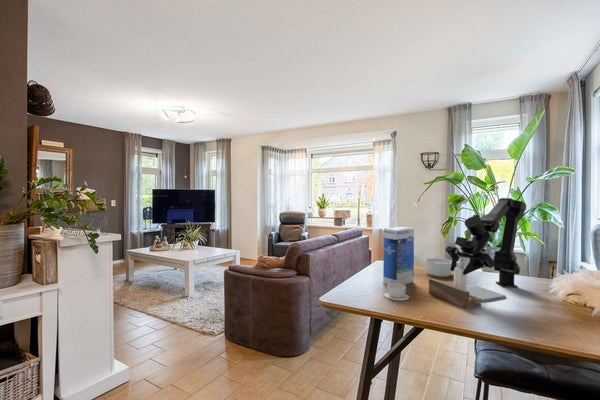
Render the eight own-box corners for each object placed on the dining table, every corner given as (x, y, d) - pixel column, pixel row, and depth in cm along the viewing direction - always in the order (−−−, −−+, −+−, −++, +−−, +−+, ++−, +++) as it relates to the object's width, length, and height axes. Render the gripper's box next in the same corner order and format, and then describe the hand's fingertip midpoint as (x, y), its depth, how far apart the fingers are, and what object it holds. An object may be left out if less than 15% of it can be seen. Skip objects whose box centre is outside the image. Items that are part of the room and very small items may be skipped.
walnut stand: (442, 290, 127) (442, 276, 127) (480, 305, 110) (481, 289, 110) (428, 292, 125) (428, 278, 125) (466, 308, 108) (466, 292, 108)
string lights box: (401, 278, 145) (401, 226, 144) (414, 282, 139) (415, 228, 138) (382, 283, 138) (382, 228, 137) (395, 287, 131) (396, 230, 131)
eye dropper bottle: (453, 289, 117) (453, 259, 117) (453, 285, 122) (454, 256, 122) (465, 291, 115) (466, 260, 115) (465, 287, 120) (466, 257, 120)
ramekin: (436, 278, 146) (437, 264, 146) (419, 271, 158) (419, 258, 158) (458, 276, 149) (459, 262, 149) (440, 270, 162) (440, 257, 162)
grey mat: (476, 288, 131) (476, 285, 131) (505, 297, 119) (506, 295, 119) (454, 291, 126) (454, 289, 126) (482, 302, 114) (482, 299, 114)
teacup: (411, 302, 115) (411, 290, 114) (384, 300, 116) (384, 288, 116) (407, 293, 124) (407, 282, 124) (382, 292, 126) (382, 281, 126)
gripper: (448, 227, 128) (428, 254, 125) (489, 232, 111) (467, 264, 107) (462, 244, 131) (442, 271, 128) (503, 252, 114) (482, 283, 110)
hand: (457, 272), depth 118 cm, fingers closed on eye dropper bottle, 5 cm apart
